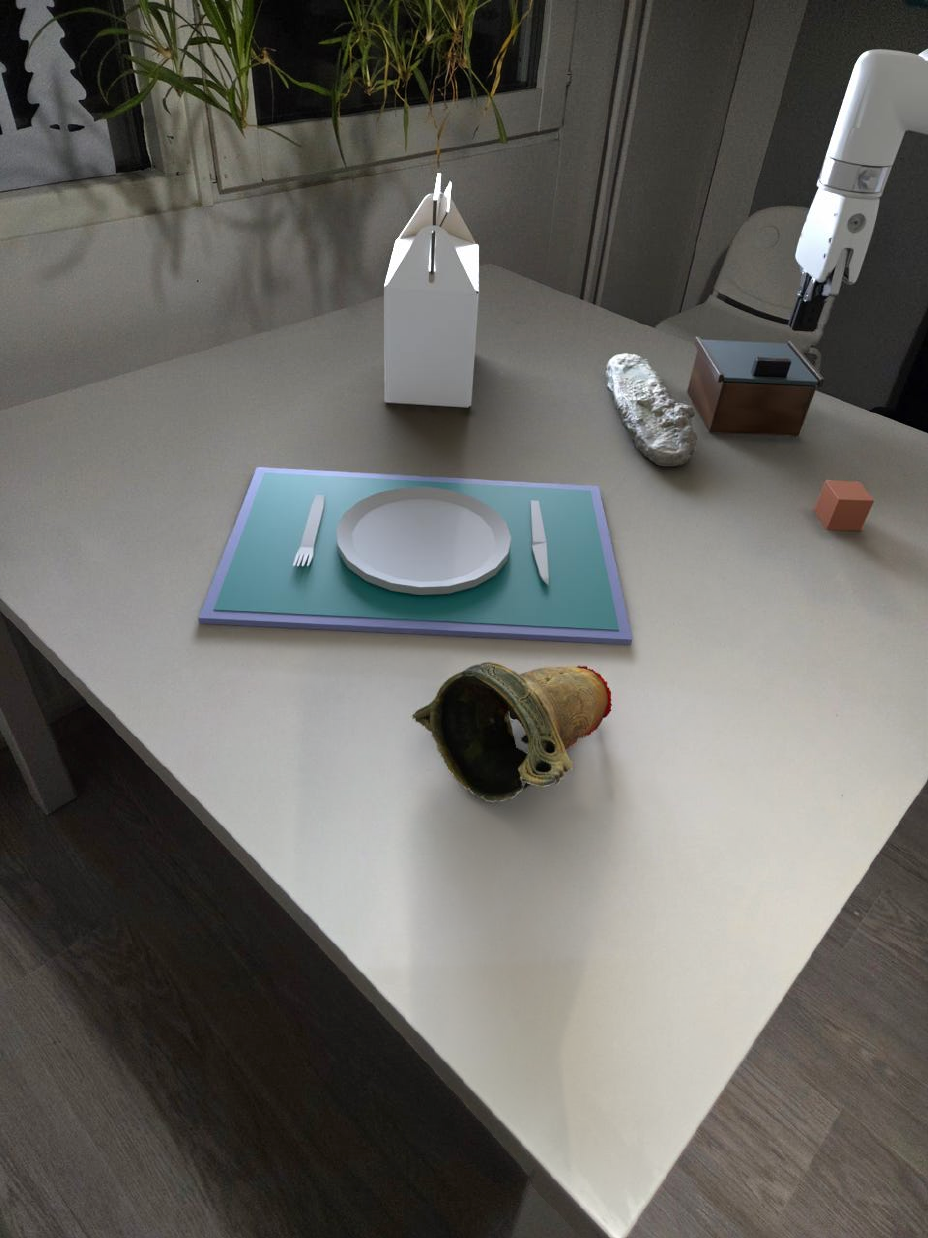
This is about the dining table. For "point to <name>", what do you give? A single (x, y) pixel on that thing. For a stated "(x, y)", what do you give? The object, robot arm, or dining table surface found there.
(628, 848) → the dining table surface
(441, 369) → the gable box
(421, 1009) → the dining table surface
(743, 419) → the brown storage box
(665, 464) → the elongated rock
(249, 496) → the place mat
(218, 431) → the dining table surface
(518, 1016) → the dining table surface
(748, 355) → the knobbed box lid
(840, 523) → the block
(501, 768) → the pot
